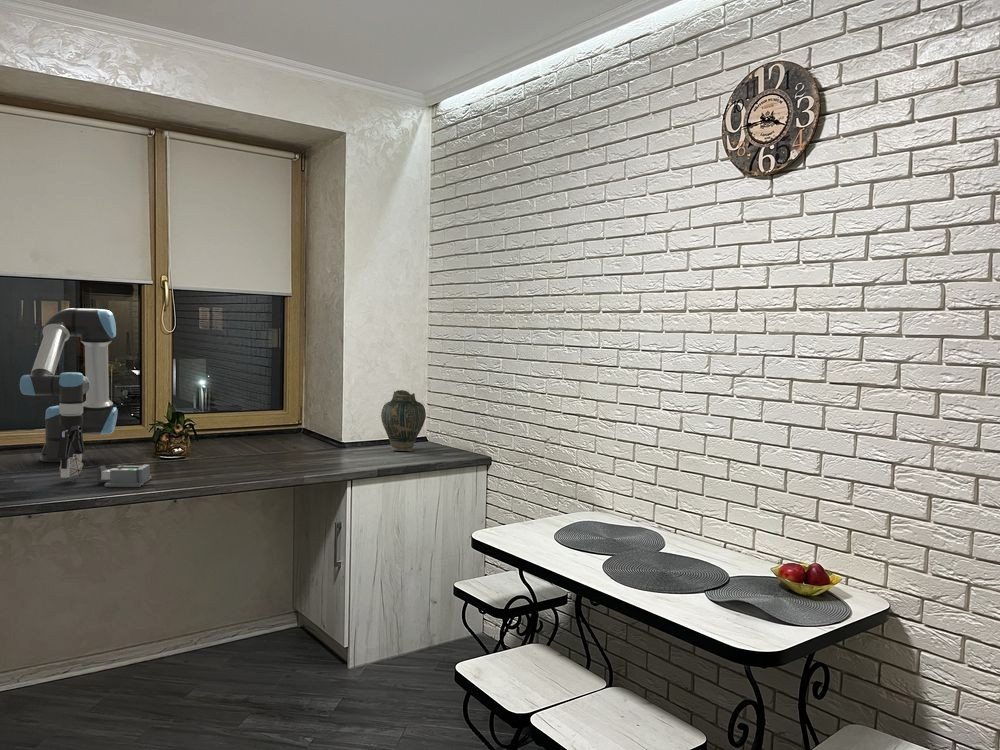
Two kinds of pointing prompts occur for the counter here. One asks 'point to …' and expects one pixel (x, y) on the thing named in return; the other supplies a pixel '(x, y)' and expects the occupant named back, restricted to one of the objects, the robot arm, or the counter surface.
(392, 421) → the vase
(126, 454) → the counter surface
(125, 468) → the gauge housing
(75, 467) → the game die
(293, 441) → the counter surface
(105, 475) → the block with dark end
